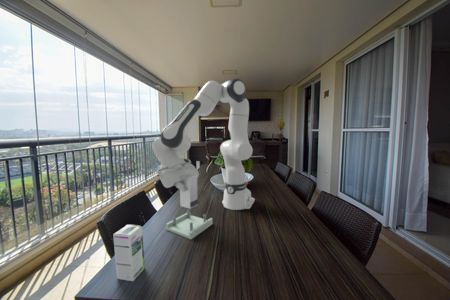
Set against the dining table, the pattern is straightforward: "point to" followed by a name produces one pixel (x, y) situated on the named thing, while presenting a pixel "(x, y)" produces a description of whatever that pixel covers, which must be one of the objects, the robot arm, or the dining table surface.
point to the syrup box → (129, 252)
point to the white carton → (189, 191)
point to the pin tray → (188, 225)
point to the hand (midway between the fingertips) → (189, 189)
